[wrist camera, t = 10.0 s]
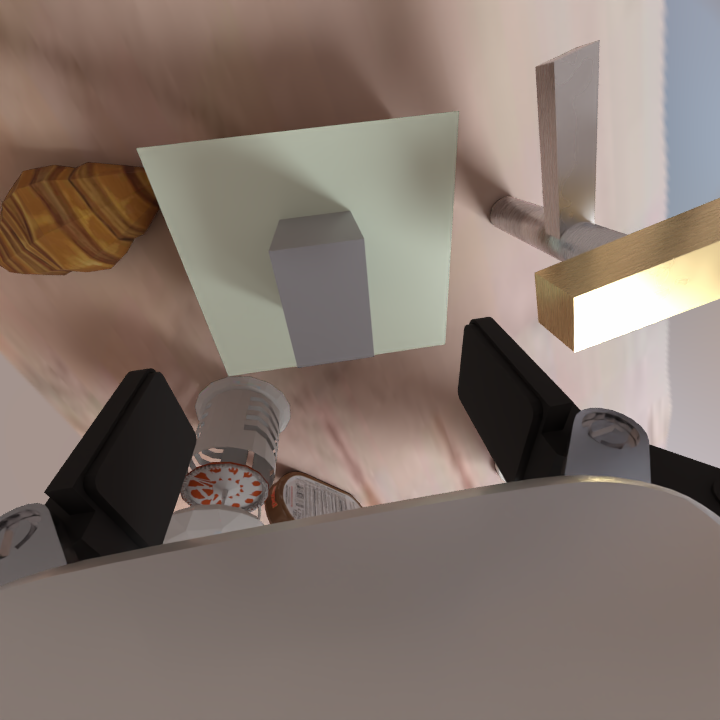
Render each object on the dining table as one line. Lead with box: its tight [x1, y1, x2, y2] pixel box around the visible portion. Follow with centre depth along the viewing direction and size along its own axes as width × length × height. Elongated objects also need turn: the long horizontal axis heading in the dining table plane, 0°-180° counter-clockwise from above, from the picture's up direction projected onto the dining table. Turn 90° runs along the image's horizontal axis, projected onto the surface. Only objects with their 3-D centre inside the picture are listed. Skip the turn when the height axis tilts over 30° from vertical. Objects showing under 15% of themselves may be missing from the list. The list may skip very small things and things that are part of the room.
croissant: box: [0, 162, 160, 275], centre depth 22 cm, size 14×7×5 cm, turn 113°
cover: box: [136, 111, 459, 376], centre depth 19 cm, size 16×14×8 cm
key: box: [490, 40, 720, 352], centre depth 19 cm, size 10×9×16 cm
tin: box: [265, 472, 363, 524], centre depth 41 cm, size 15×3×8 cm, turn 47°
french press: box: [163, 377, 290, 544], centre depth 26 cm, size 10×12×25 cm
